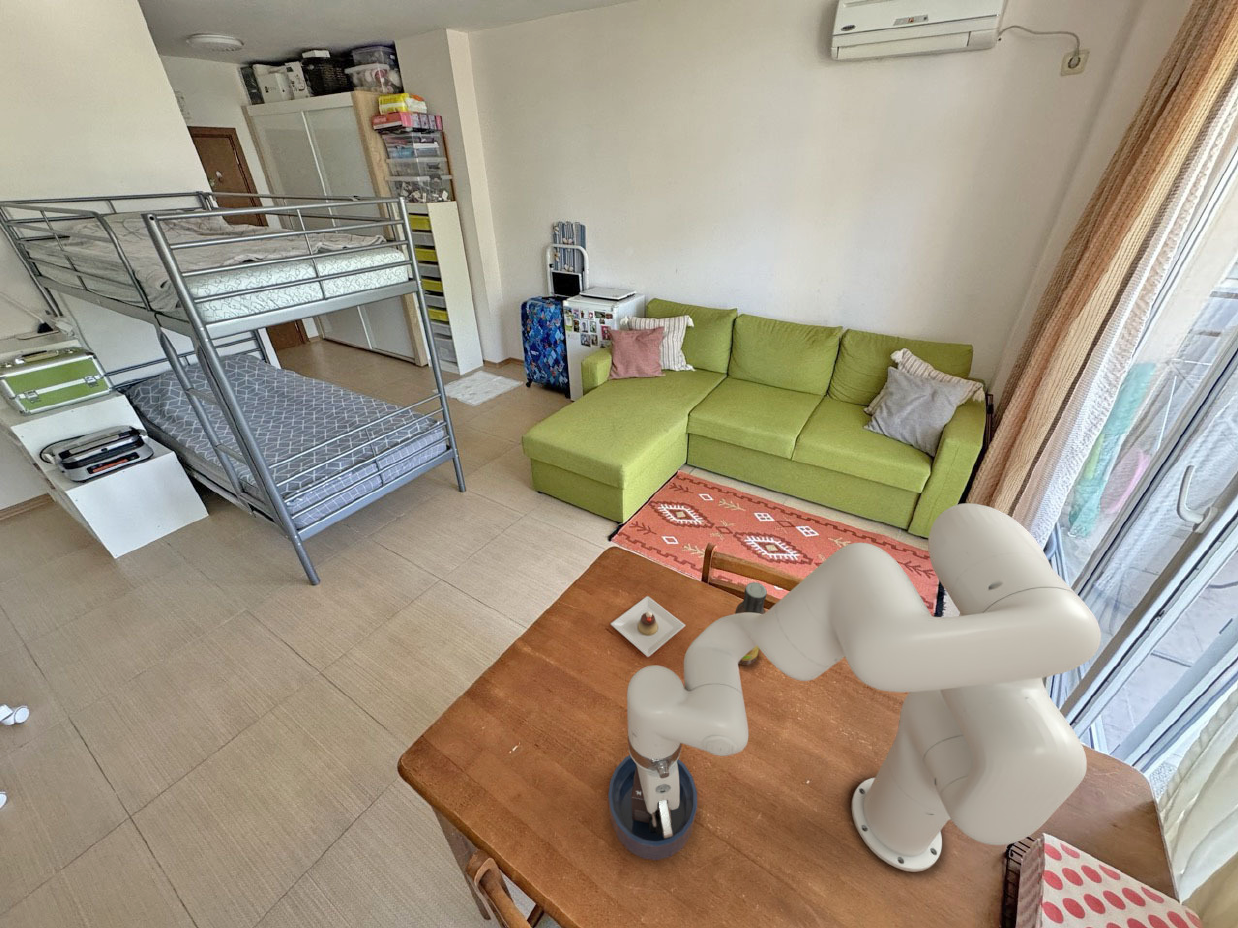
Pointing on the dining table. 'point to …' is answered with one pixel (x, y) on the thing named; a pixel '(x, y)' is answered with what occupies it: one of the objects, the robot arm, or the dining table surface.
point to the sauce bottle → (754, 604)
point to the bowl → (638, 832)
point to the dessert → (647, 625)
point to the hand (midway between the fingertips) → (652, 798)
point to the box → (639, 801)
